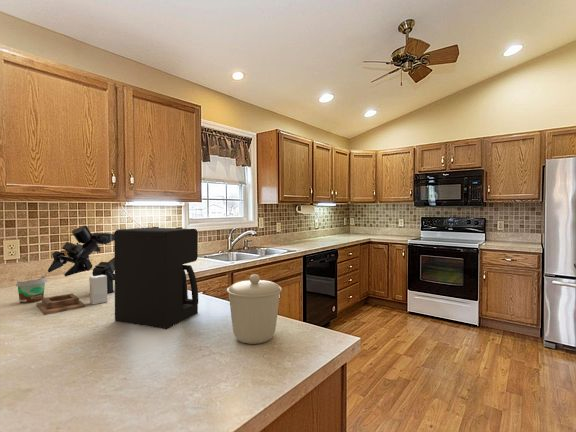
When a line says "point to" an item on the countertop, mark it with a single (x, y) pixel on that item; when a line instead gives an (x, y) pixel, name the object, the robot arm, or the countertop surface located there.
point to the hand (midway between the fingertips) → (56, 273)
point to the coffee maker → (155, 276)
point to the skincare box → (98, 289)
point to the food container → (31, 290)
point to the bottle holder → (59, 303)
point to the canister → (254, 309)
